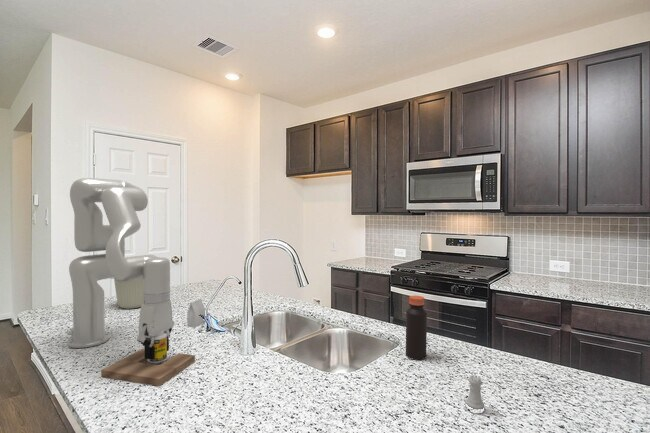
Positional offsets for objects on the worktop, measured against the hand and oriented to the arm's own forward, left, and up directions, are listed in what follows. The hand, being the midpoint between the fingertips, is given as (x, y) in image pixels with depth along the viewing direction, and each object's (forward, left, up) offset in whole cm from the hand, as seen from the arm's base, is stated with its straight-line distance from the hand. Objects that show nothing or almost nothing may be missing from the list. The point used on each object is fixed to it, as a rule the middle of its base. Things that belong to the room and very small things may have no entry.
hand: (157, 353), depth 109 cm
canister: (-57, +51, -4) cm, 76 cm away
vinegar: (+79, +28, -4) cm, 84 cm away
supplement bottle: (0, 0, -2) cm, 2 cm away
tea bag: (-11, +36, -4) cm, 38 cm away
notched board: (0, -3, -3) cm, 5 cm away
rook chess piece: (+93, 0, -4) cm, 93 cm away
